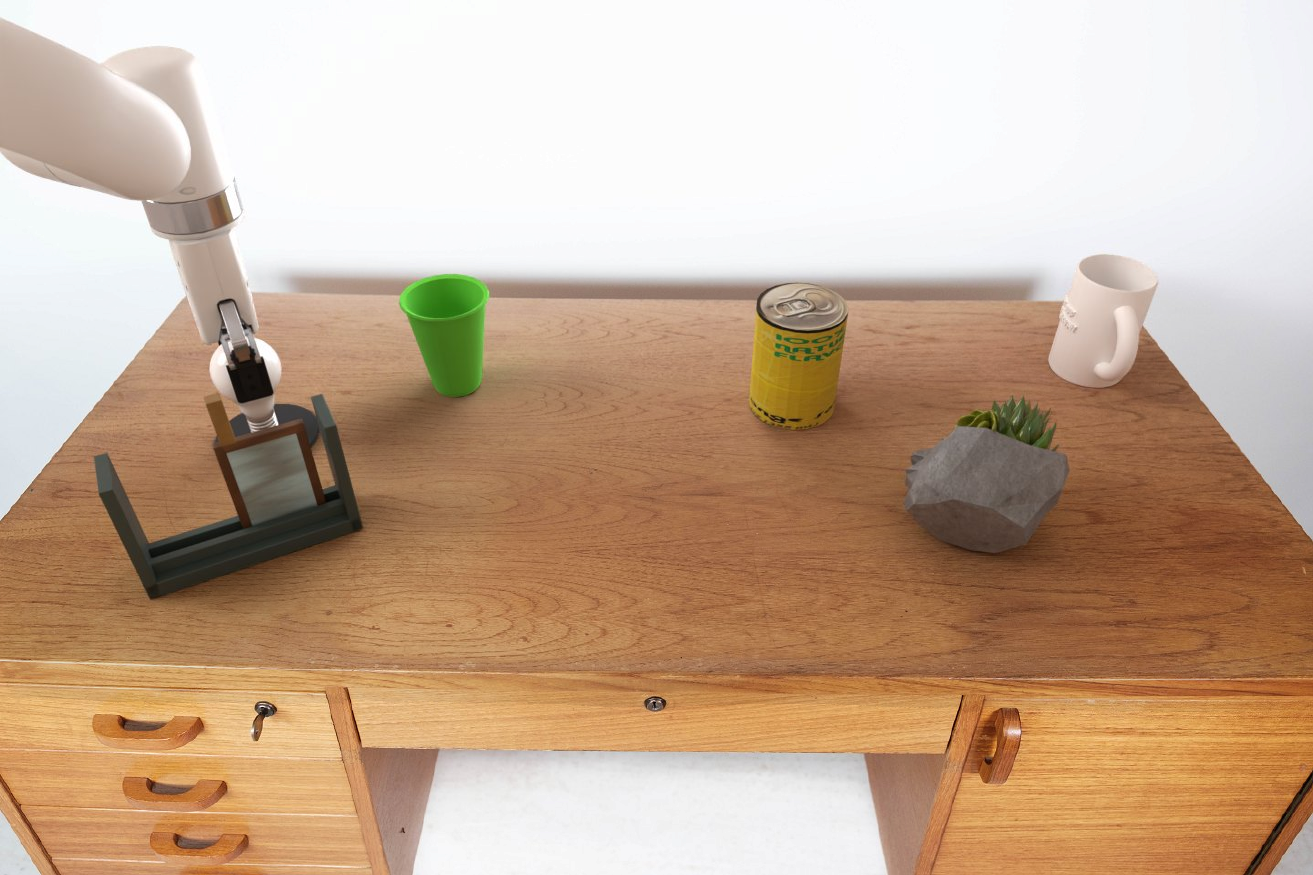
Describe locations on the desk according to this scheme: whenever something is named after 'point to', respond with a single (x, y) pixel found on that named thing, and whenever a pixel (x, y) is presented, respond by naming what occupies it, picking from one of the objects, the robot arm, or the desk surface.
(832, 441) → the desk surface
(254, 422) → the lightbulb
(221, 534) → the window frame
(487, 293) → the cup
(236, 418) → the coaster
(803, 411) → the beverage can
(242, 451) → the window sash
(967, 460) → the potted plant
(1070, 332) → the mug
